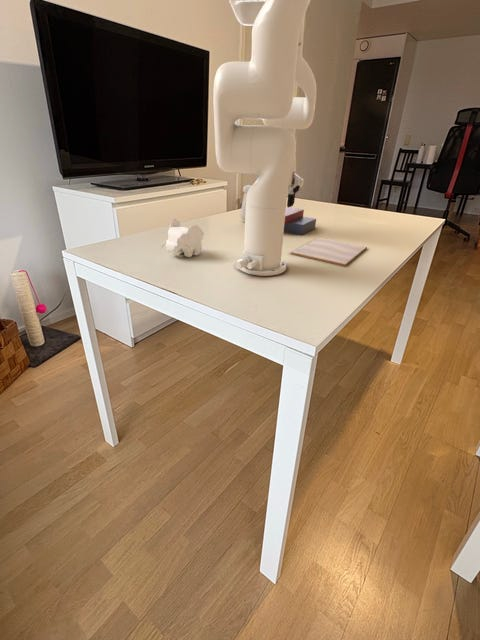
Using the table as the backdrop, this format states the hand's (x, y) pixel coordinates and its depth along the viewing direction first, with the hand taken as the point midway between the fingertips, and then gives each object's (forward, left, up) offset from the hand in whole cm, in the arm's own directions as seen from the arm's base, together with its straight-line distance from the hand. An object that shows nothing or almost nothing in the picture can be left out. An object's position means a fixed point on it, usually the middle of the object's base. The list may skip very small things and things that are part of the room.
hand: (277, 204), depth 114 cm
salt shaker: (+7, +16, -10) cm, 20 cm away
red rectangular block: (+6, 0, -6) cm, 9 cm away
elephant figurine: (-38, +8, -10) cm, 40 cm away
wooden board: (-8, -23, -10) cm, 26 cm away
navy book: (+9, 0, -10) cm, 13 cm away
